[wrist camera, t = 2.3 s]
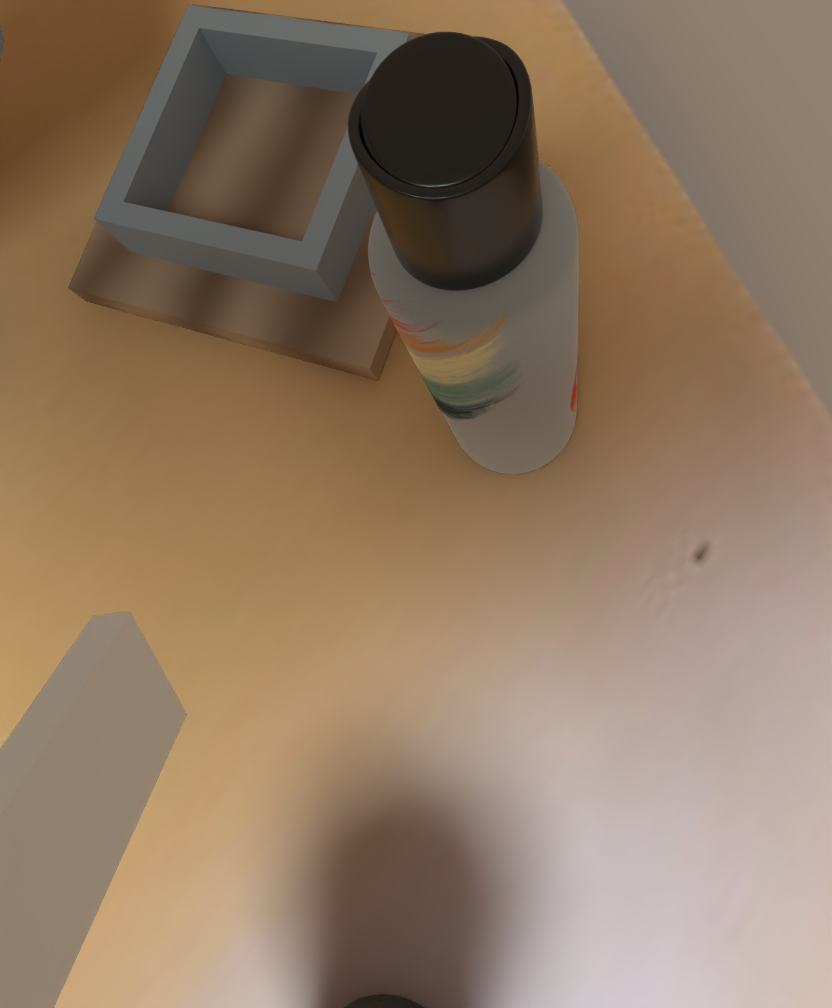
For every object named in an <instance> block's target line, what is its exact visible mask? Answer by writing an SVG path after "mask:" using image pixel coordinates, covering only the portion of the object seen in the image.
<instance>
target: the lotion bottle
mask: <svg viewBox="0 0 832 1008" xmlns="http://www.w3.org/2000/svg"><path fill="white" fill-rule="evenodd" d="M348 135H349V140H350V144H351V148H352V151H353V153H354V156H355V158H356V161H357V163H358V166H359V168H360V170H361V173H362V175H363V178H364V180H365V182H366V185H367V187H368V190H369V192H370V194H371V197H372V199H373V202H374V204H375V207H376V209H377V213H376V216H375V218H374V221H373V224H372V227H371V231H370V236H369V244H368V257H369V266H370V271H371V276H372V279H373V283H374V285H375V288H376V290H377V292H378V295H379V297H380V299H381V301H382V303H383V305H384V307H385V309H386V311H387V313H388V314H389V316H390V318H391V320H392V322H393V324H394V326H395V328H396V329H397V331H398V333H399V335H400V337H401V339H402V340H403V342H404V344H405V346H406V348H407V350H408V352H409V353H410V355H411V357H412V359H413V361H414V363H415V364H416V366H417V368H418V370H419V372H420V374H421V375H422V377H423V379H424V381H425V383H426V385H427V386H428V388H429V390H430V392H431V394H432V396H433V398H434V399H435V401H436V403H437V405H438V407H439V409H440V410H441V412H442V414H443V416H444V418H445V420H446V421H447V423H448V425H449V427H450V429H451V431H452V432H453V434H454V436H455V438H456V440H457V441H458V443H459V444H460V446H461V447H462V449H463V450H464V451H465V452H466V454H467V455H468V456H469V457H470V458H471V459H472V460H474V461H475V462H476V463H478V464H479V465H481V466H482V467H484V468H487V469H489V470H492V471H495V472H499V473H504V474H521V473H526V472H530V471H533V470H536V469H538V468H541V467H542V466H544V465H546V464H548V463H549V462H550V461H552V460H553V459H554V458H555V457H556V456H557V455H558V454H559V453H560V452H561V451H562V450H563V449H564V447H565V446H566V444H567V443H568V441H569V439H570V437H571V435H572V432H573V429H574V425H575V421H576V412H577V378H578V307H579V233H578V222H577V216H576V212H575V208H574V205H573V202H572V200H571V197H570V195H569V193H568V191H567V189H566V187H565V185H564V184H563V183H562V181H561V180H560V178H559V177H558V176H557V175H556V174H555V173H554V172H553V171H552V170H551V169H550V168H549V167H548V166H547V165H545V164H544V163H543V162H541V161H540V160H538V150H537V139H536V128H535V118H534V107H533V97H532V89H531V84H530V79H529V76H528V73H527V70H526V68H525V66H524V64H523V62H522V61H521V59H520V58H519V56H518V55H517V54H516V53H515V52H514V51H513V50H512V49H511V48H509V47H508V46H507V45H505V44H503V43H501V42H499V41H496V40H493V39H490V38H485V37H473V36H469V35H466V34H462V33H456V32H435V33H430V34H425V35H422V36H419V37H416V38H414V39H411V40H409V41H407V42H406V43H404V44H402V45H401V46H399V47H398V48H396V49H395V50H394V51H392V52H391V53H390V54H389V55H388V56H387V57H386V58H385V59H384V60H383V61H382V62H381V63H380V65H379V66H378V67H377V69H376V70H375V72H374V73H373V75H372V77H371V78H370V80H369V81H368V82H367V83H366V84H365V85H364V86H363V88H362V89H361V90H360V91H359V93H358V95H357V96H356V98H355V100H354V102H353V104H352V107H351V109H350V113H349V118H348Z"/></svg>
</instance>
